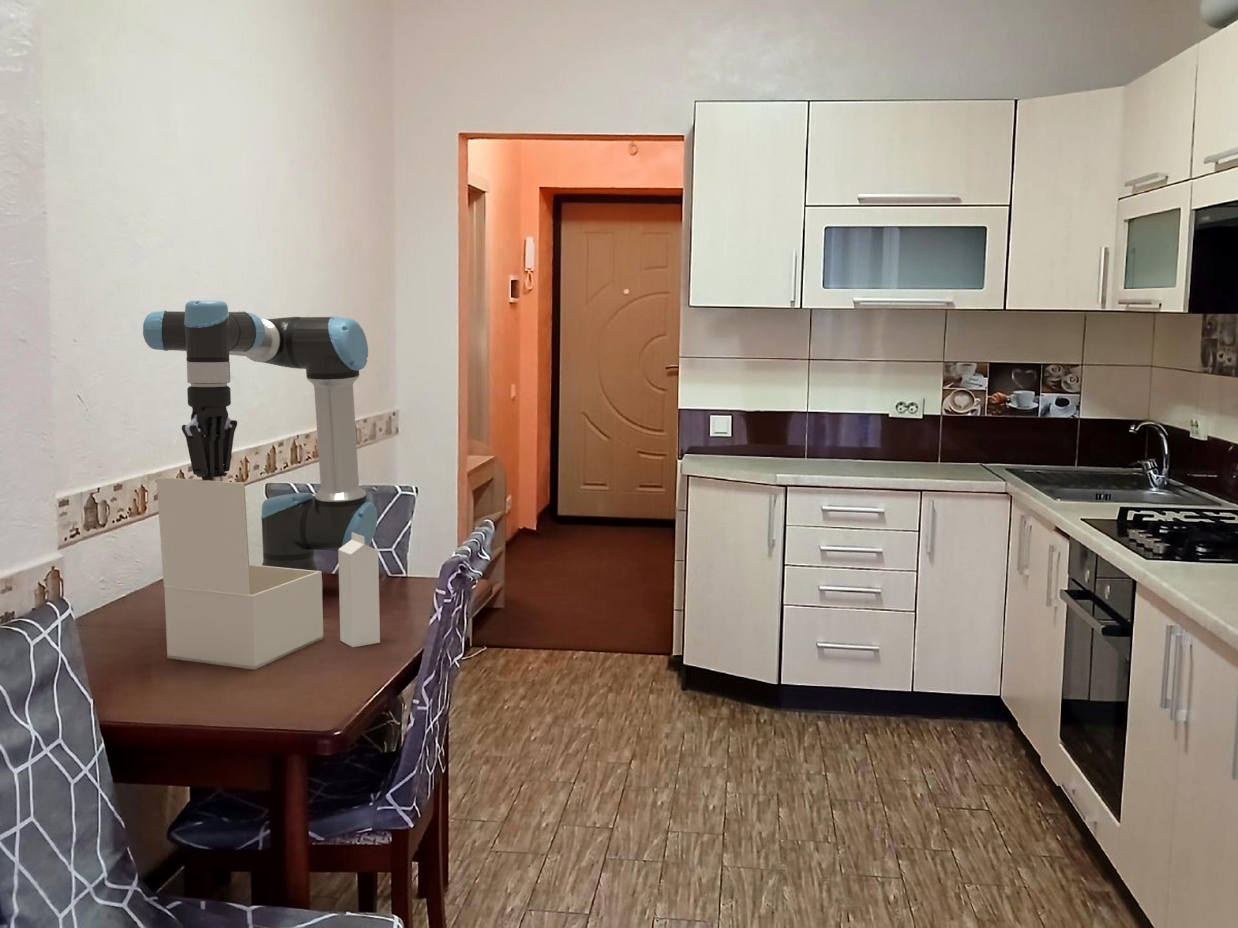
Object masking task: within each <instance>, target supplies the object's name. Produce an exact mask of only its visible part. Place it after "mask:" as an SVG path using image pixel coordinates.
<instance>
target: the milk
mask: <svg viewBox="0 0 1238 928" xmlns="http://www.w3.org/2000/svg"><path fill="white" fill-rule="evenodd" d="M337 553H338V555H337V557H338V592H339V593H338V595H339V596H338V597H339V598H338V599H339V638H340V639H339V640H340V642H343V643H344V644H345V645H348V646H349V647H351V648H357V647H364V646H367V645H369V646H370V645H373V644H379V643H381V628H380V627H381V626H380V625H381V624H380V620H381V619H380V578H379V577H380V576H379V575H380V574H379V573H380V571H379V570H380V567H379V550H377V549H376V548H374V547H371V546H370V545H369V546H367V545H365V539H364V536H361V535H358V534H356V533H353V532H352V539H351V540H350V541H349V542H348V543H346V544H345V545H344V546H342V547H341V548H340V549H338V551H337Z"/></svg>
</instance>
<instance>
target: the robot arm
mask: <svg viewBox="0 0 1238 928" xmlns="http://www.w3.org/2000/svg"><path fill="white" fill-rule="evenodd" d="M142 327H143V328H142V336H143V338H144V342H145V343H146V345H147V346H148V347H149V348H150V349H152V350H158V351H159V350H160V351H166V352H168V351H181V352H186V373H187V374H186V377H187V382H186V383H188V384H190V386H188V387H187V391H186V392H187V405H188V406H189V407H191V409H192V412H191V414H190V422H188V423H187V424H182V426H181V431H182V432H183V434H184V437H185V438H186V439H185V440H186V445H187V449H188V453H189V459H190V463H191V469H192V473H193V475H195V476H196V477H197V478H201V480H210V481H223V477H226V476H227V475H228V472H229V471H230V468H231V463H232V462H231V461H232V454H233V453H232V452H233V445H234V436H235V432H236V429H237V426H238V421H237V420H234V419H231V418H230V417H229V413H228V410H227V409H228V408H227V407H229V406H230V405H231V403H232V400H231V397H232V396H231V395H232V394H231V387H230V386H228V384H229V383H231V364H230V363H231V362H230V356H237V357H239V356H240V357H246V358H248V359H249V360H250V361H253V362H255V363H264V364H269V365H274V366H280V367H283V368H288V369H299V370H302V369H303V370H305V371H306V373H305V375H306V380H307V381H309V382H310V383H311V384H312V385H313V387H314V389H313V390H314V403H315V405H314V406H315V419H316V421H315V423H316V432H317V433H316V435H317V450H318V451H317V452H318V465H319V480H320V483H319V484H320V488H319V490H318V491H317V492H316V493H315V494H314V495H313V493H312V492H296V493H295V492H293V493H287V494H283V495H277V496H272V497H269V498H267V499H265V500H264V501H263V502H262V504H261V505H262V506H261V517H260V520H261V534H262V535H261V537H262V564H261V566H271V567H282V568H292V569H302V570H313V571H320V570H319V567H318V565H317V562H316V558H315V551H325V552H327V551H328V552H338V549H340V548H341V547H342V546H344V545H345V544H346V543H348V542H349V541H350V540H351V539H352V532H353V533H356V534H358V535H361V536H364V539H365V545H367V546H369V547H370V544H371V543H372V541H373V539H374V536H375V533H376V529H377V524H378V510H377V508H376V505H375V504H374V503H372V501H367V492H366V490H364V489H363V488H362V487H360V485H359V484H360V481H359V465H358V450H357V449H358V448H357V447H358V446H357V433H356V432H357V430H356V414H355V413H356V412H355V398H354V384H355V382H356V381H357V380H358V378H360V371H361V370H364V368H365V367H366V365H367V363H368V357H369V346H368V339H367V336H366V333H365V331H364V330H363V327H361V325H360V324H359V322H358V321H356V320H354V319H353V318H349V317H340V316H305V317H304V316H288V317H279V318H278V317H277V318H276V317H275V318H261V317H259V316H257V315H256V314H254V313H252V312H247V311H245V310H244V311H229V307H228V304H227V303H226V302H225V301H222V300H189V301H187V302H186V304H185V307H184V311H174V310H173V311H171V310H169V311H168V310H162V311H152V312H149V313H148V314H147V315H146V317H145V318H144V321H143V323H142ZM323 590H324V583H323V580H322V591H323Z"/></svg>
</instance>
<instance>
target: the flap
mask: <svg viewBox="0 0 1238 928" xmlns="http://www.w3.org/2000/svg"><path fill="white" fill-rule="evenodd" d="M245 487H246V485H245V482H237V481H236V482H235V481H223V480H222V481H210V480H202V479H195V478H194V479H193V478H181V477H180V478H179V477H165V476H164V477H162V476H157V477H156V491H157V492H156V493H157V506H158V509H157V510H158V521H159V534H160V535H159V536H160V549H161V550H160V551H161V565H162V579H163V580H162V581H163V582H162V583H163V587H164V586H169V587H178V588H187V589H197V590H206V591H215V592H225V593H234V594H243V595H250V594H251V589H250V571H249V564H250V558H249V557H250V556H249V538H248V536H249V535H248V521H247V520H248V519H247V505H246V503H247V502H246V500H247V499H246V488H245Z"/></svg>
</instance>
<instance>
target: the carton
mask: <svg viewBox="0 0 1238 928" xmlns="http://www.w3.org/2000/svg"><path fill="white" fill-rule="evenodd" d="M249 571H250V589H251V594H250V595H243V594H234V593H225V592H215V591H206V590H197V589H187V588H178V587H169V586H164V585H163V587H164V606H165V609H164V610H165V633H166V652H167V653H166V656H167V659H170V660H171V659H172V660H178V661H179V660H180V661H187V662H192V663H193V662H194V663H199V664H200V663H201V664H202V663H203V664H208V665H216V666H224V667H233V668H240V669H245V670H254V671H256V670H258V669H260V668H262V667H264V666H267V665H269V664H272V663H273V662H275V661H278V660H280V659H282V658H285V657H287V656H288V655H291V654H294V653H296V652H297V651H300V650H302V649H304V648H306V647H309V646H310V645H311V646H312V645H313V644H315V643H317V642H319V641H322V640H324V620H323V619H324V617H323V616H324V615H323V613H324V612H323V590H322V581H323V579H322V578H323V577H322V575H323V574H322V571H321V570H319V571H313V570H302V569H292V568H282V567H271V566H262V564H261V565H260V564H250V563H249Z"/></svg>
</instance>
